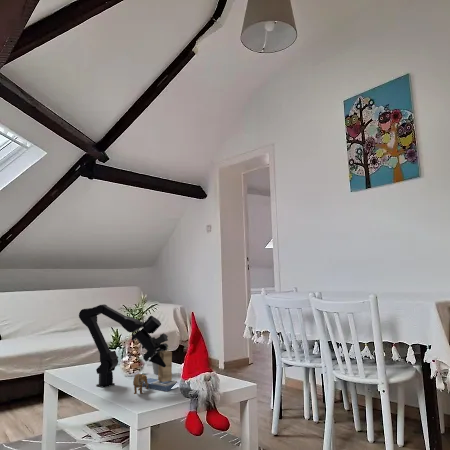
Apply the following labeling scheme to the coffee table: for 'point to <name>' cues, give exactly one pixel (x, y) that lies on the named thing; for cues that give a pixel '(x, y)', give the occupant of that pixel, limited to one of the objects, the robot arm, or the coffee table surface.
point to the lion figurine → (139, 382)
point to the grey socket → (164, 384)
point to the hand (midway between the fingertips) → (167, 365)
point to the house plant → (156, 366)
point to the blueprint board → (157, 387)
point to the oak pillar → (165, 372)
